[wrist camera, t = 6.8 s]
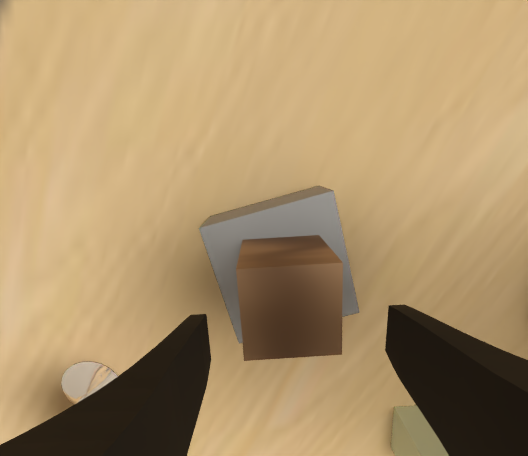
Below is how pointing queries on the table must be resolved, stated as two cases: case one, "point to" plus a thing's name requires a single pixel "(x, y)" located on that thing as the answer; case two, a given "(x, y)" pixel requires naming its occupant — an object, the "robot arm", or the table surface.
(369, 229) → the table surface
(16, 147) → the table surface
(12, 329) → the table surface
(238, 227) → the grey square block
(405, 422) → the sage-green block
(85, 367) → the wineglass
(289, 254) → the walnut block
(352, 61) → the table surface
